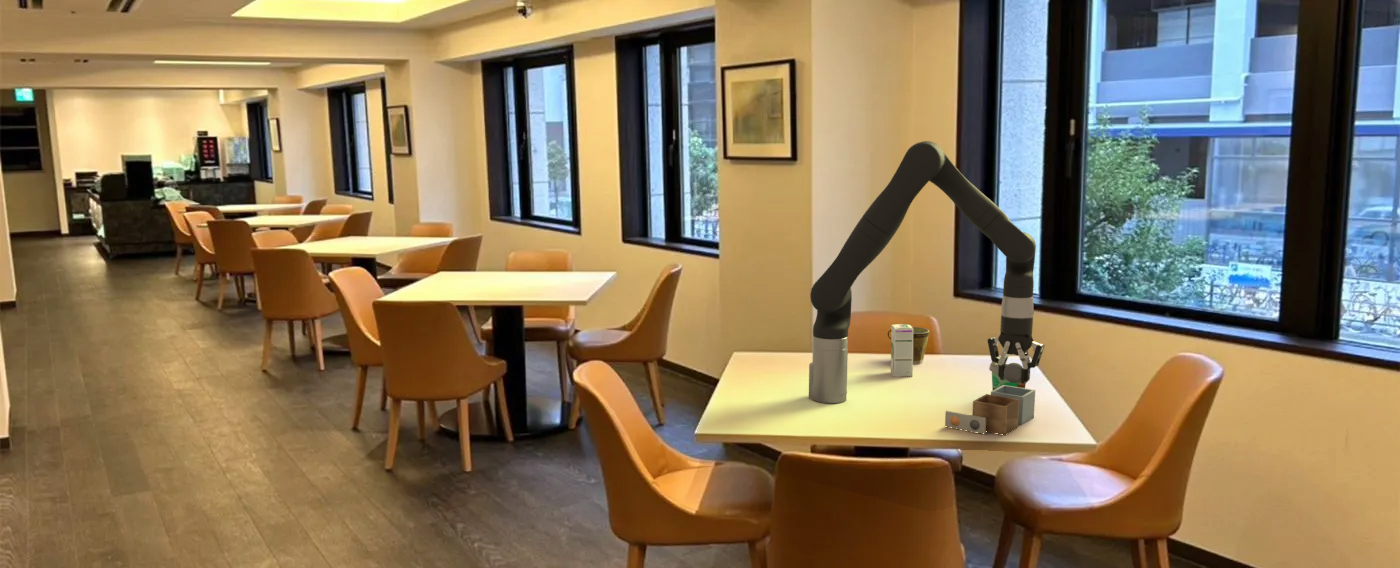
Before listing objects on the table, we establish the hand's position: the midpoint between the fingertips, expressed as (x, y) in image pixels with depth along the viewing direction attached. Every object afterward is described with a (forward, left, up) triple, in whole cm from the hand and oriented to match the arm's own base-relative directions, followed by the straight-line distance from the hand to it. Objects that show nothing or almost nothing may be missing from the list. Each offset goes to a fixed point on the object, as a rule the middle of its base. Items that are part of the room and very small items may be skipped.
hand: (1013, 381), depth 252 cm
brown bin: (0, -11, -10) cm, 15 cm away
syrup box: (-42, +23, -10) cm, 49 cm away
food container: (-8, +14, -10) cm, 19 cm away
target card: (-5, -17, -10) cm, 20 cm away
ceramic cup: (-48, +39, -10) cm, 63 cm away
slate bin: (0, 0, -10) cm, 10 cm away
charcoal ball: (0, 0, 0) cm, 0 cm away
